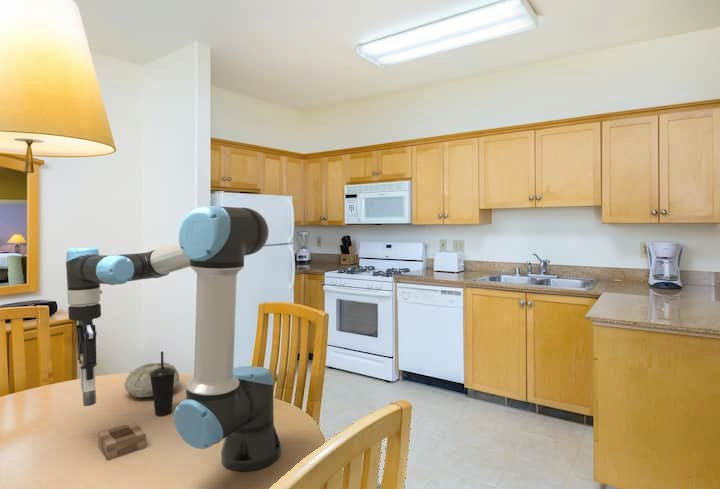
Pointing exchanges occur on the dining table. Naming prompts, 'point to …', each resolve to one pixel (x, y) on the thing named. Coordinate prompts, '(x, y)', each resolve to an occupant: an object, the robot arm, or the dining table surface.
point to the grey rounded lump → (145, 380)
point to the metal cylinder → (89, 396)
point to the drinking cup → (162, 389)
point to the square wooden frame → (121, 440)
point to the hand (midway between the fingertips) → (88, 388)
